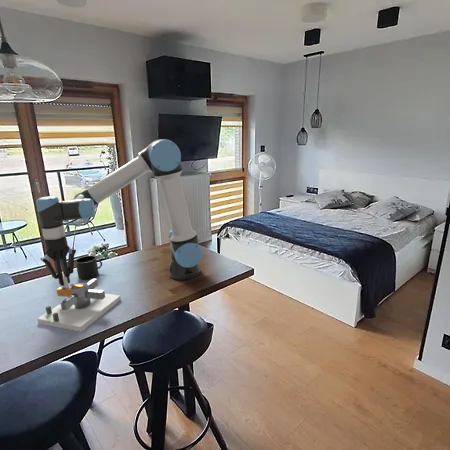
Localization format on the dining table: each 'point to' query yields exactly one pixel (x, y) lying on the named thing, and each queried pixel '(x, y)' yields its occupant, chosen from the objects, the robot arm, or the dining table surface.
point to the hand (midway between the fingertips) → (66, 291)
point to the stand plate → (78, 314)
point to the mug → (87, 267)
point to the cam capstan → (80, 294)
